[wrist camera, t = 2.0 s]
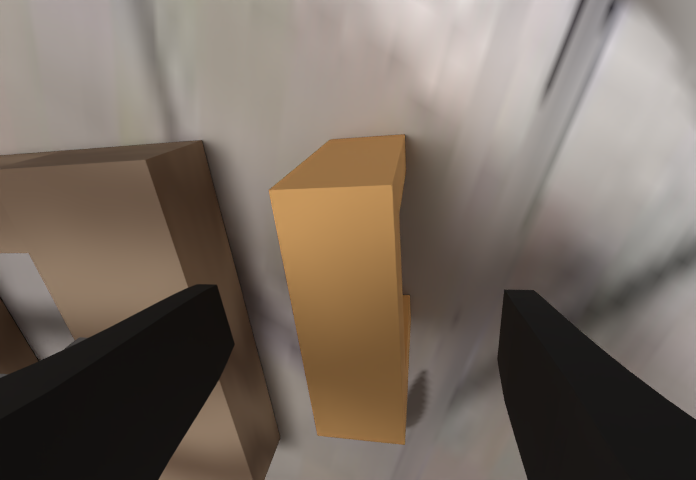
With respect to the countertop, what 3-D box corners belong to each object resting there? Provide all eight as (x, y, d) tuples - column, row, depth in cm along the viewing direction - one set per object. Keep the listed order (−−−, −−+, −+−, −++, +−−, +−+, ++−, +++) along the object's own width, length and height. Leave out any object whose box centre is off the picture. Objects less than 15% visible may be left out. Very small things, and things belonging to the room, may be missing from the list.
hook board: (280, 438, 20) (234, 559, 15) (-4, 406, 24) (-113, 494, 19) (201, 139, 13) (70, 185, 8) (-175, 168, 17) (-409, 210, 12)
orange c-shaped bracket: (410, 319, 15) (404, 445, 10) (350, 317, 15) (317, 435, 10) (404, 134, 12) (392, 184, 7) (329, 139, 12) (268, 190, 7)
